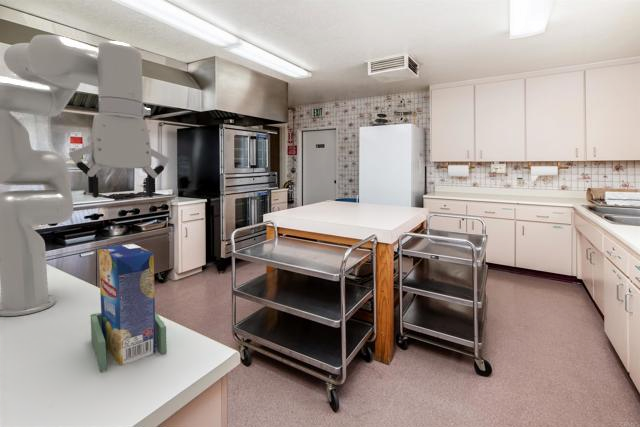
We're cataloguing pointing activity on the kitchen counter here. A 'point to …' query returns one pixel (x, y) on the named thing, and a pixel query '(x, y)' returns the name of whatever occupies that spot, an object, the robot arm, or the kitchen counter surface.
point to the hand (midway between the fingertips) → (123, 196)
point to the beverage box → (127, 301)
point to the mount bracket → (100, 341)
